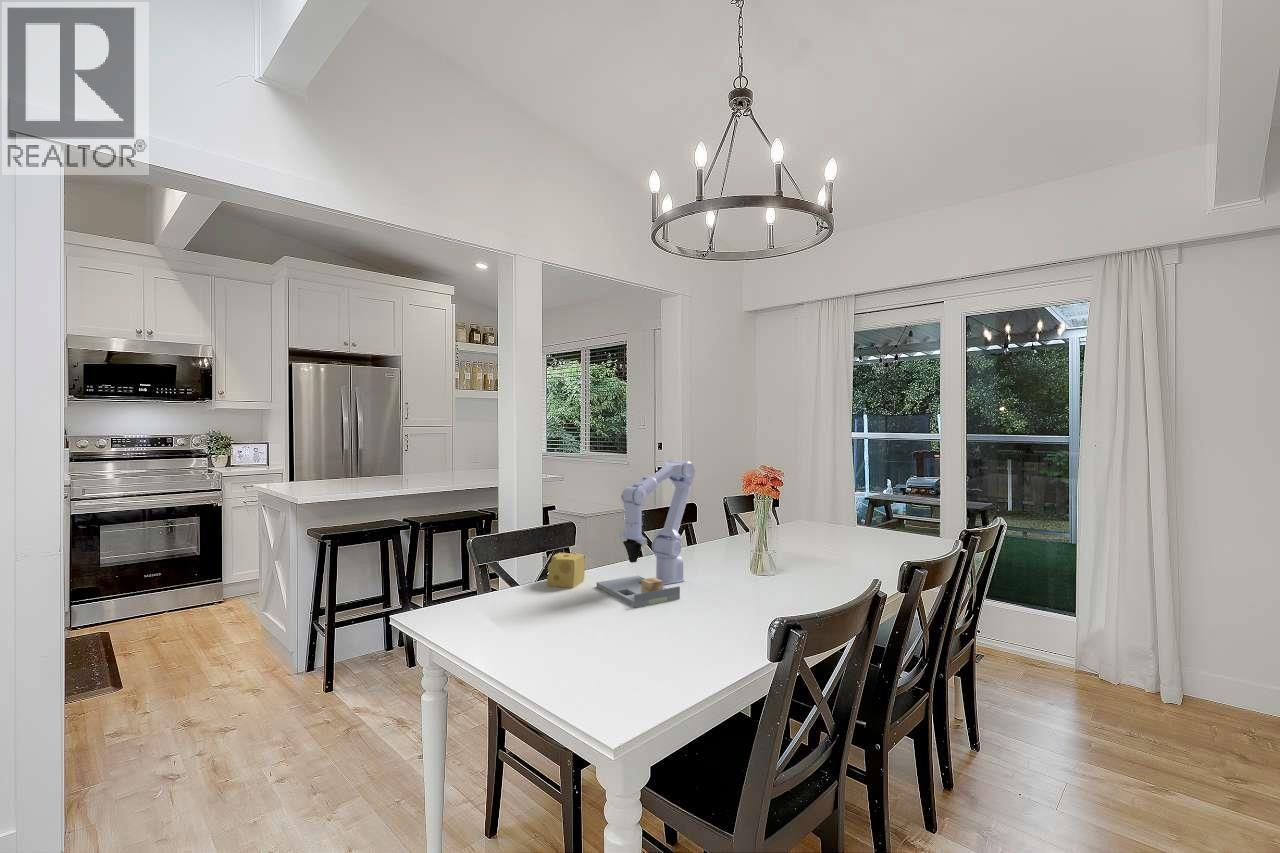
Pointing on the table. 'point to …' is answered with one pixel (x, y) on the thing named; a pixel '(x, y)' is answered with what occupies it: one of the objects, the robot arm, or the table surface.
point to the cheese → (566, 570)
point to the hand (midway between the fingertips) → (633, 561)
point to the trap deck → (637, 591)
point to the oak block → (651, 585)
